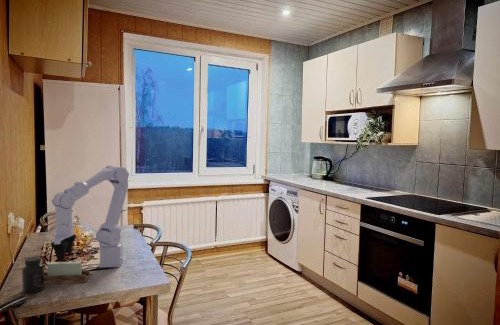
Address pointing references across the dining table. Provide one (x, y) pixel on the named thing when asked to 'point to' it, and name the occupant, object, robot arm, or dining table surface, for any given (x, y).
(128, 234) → the dining table surface
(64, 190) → the robot arm
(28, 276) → the supplement bottle
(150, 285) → the dining table surface
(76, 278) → the brown flat wooden board
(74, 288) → the dining table surface
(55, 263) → the door panel
